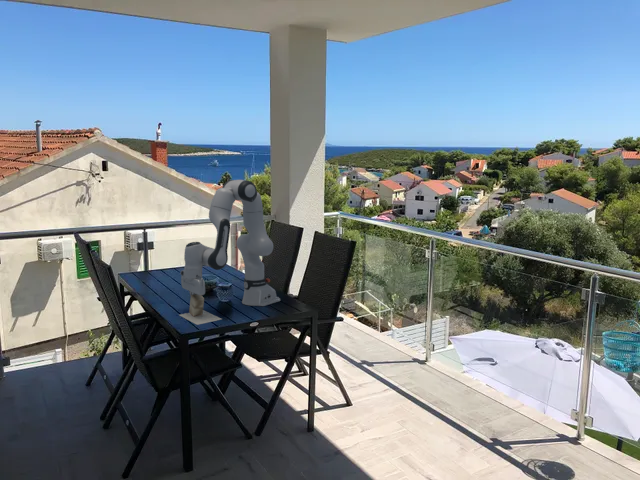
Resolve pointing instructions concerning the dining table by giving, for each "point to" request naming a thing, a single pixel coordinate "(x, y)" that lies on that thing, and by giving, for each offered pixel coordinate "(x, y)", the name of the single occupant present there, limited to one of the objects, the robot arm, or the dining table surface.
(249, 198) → the robot arm
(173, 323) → the dining table surface
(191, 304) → the birch block
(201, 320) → the sand mat
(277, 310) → the dining table surface
